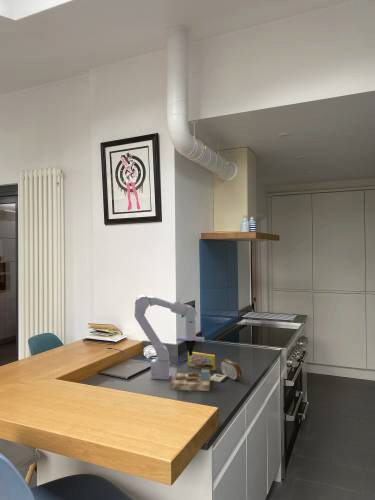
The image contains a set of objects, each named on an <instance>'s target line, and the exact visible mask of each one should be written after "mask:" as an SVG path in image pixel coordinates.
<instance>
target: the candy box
mask: <svg viewBox="0 0 375 500" xmlns="http://www.w3.org/2000/svg"><path fill="white" fill-rule="evenodd" d="M187 367H192V368H196V369H206V370H210V371H216V355H215V354H210V353H209V354H208V353H204V352H203V353H202V352H197V351H193V352H192V356H189V352H188V351H187Z"/></svg>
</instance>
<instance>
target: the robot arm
mask: <svg viewBox="0 0 375 500" xmlns="http://www.w3.org/2000/svg"><path fill="white" fill-rule="evenodd" d="M153 306H159V307H162V308H166V309H170V311H171V312H170V313H174V314H177V315H181V316H184V336H177V337H176V342H184V344H185V346H186V348H187V353H188V352H189V356H192V352H194V347H195V345H196V342H202V343H203V342H205V336H197V332H196V331H197V329H196V326H197V323H196V316H197V310H196V309H195V308H194V307H193V306H192V305H189V304H188V303H186V304H185V303H181V302H180V301H179V300H177V301H173V302H171V301H170V302H169V301H167V300H164V299H162V298H159V297H156V296H153V295H146V294H143V293H142V294H139V295H138V296H137V297H136V299H135V302H134V319H135V320H136V321H137V324H139V326H140V328H141V330H142V331H143V332H144V333H143V334H145V336H146V337H147V339H148V340H149V342H150V343H151V346H152V347H153V349H154V350H155V354H156V357H155V358H154V359H152V358H151V362H150V379H151V380H152V379H153V380H169V379H170V378H171V375H172V373H171V372H170V352H169V350H168V347H167V346H166V345H165V344H164V343H163V342H162V341H161V340H160V338H159V337H158V335H157V333H156V332H155V330H154V329H153V327H152V326H151V323H150V322H149V320H148V318H147V317H146V316H145V314H146V311H147V309H148V307H153Z"/></svg>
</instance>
